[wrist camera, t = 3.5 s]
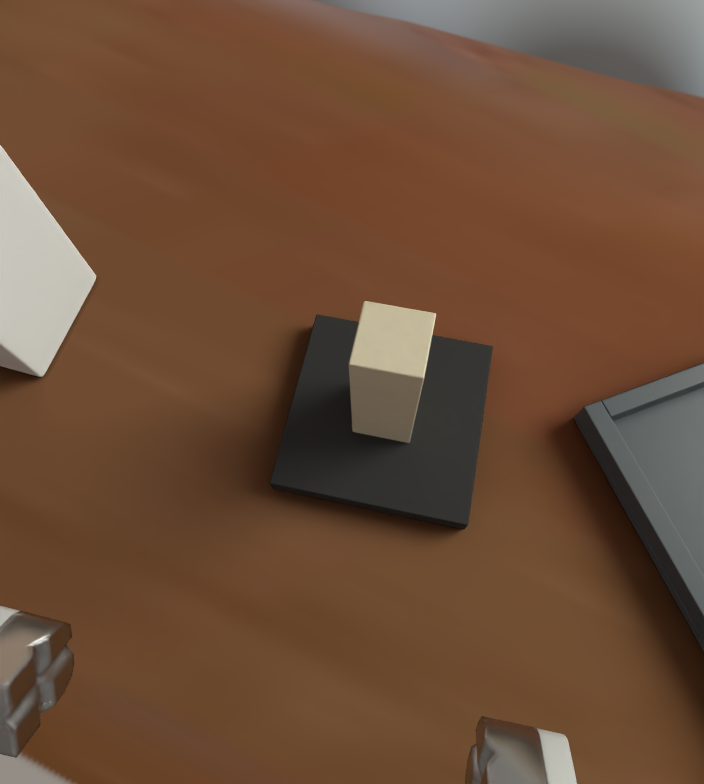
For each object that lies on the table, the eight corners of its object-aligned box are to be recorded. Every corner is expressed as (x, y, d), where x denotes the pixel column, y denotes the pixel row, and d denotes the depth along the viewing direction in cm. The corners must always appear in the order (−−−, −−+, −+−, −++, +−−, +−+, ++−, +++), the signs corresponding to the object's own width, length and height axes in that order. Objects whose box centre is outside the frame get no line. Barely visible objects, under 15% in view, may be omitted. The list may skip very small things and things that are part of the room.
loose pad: (464, 529, 29) (505, 484, 21) (272, 488, 30) (236, 429, 22) (488, 355, 33) (531, 257, 24) (317, 324, 34) (302, 219, 25)
